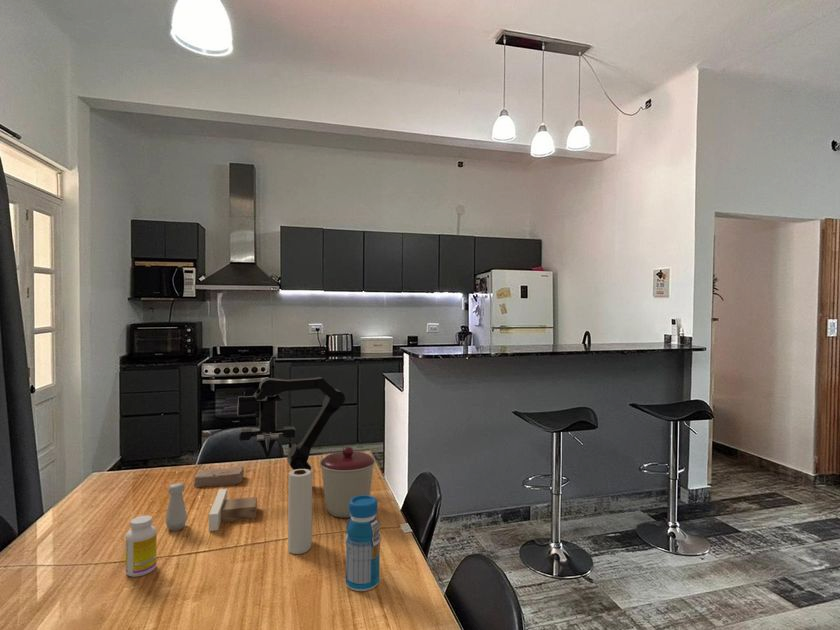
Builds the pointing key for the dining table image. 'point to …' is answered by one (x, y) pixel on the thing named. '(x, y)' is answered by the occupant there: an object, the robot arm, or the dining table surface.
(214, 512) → the plank
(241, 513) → the walnut block
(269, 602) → the dining table surface
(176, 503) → the salt shaker
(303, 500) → the paper towel roll
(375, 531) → the beverage bottle
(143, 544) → the supplement bottle
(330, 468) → the canister
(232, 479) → the brick
